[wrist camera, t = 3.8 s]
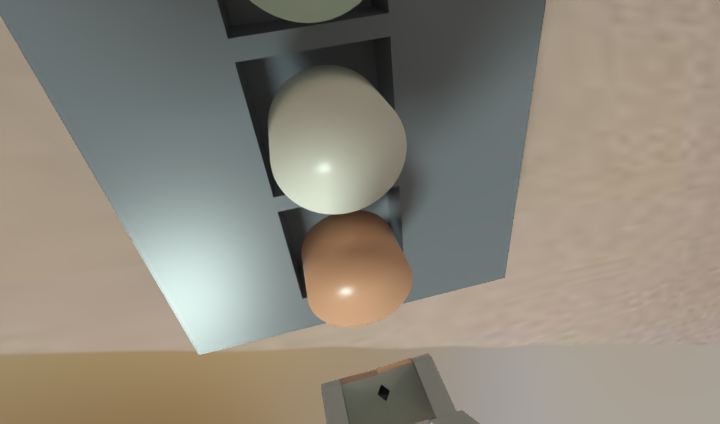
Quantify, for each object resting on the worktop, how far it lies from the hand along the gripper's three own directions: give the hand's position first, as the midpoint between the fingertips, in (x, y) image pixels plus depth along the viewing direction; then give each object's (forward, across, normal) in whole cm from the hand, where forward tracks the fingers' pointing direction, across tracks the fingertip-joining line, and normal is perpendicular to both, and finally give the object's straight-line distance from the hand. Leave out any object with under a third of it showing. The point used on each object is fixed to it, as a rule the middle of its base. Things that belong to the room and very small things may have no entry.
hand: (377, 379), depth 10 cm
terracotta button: (+5, 0, 0) cm, 5 cm away
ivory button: (+5, 0, -5) cm, 7 cm away
